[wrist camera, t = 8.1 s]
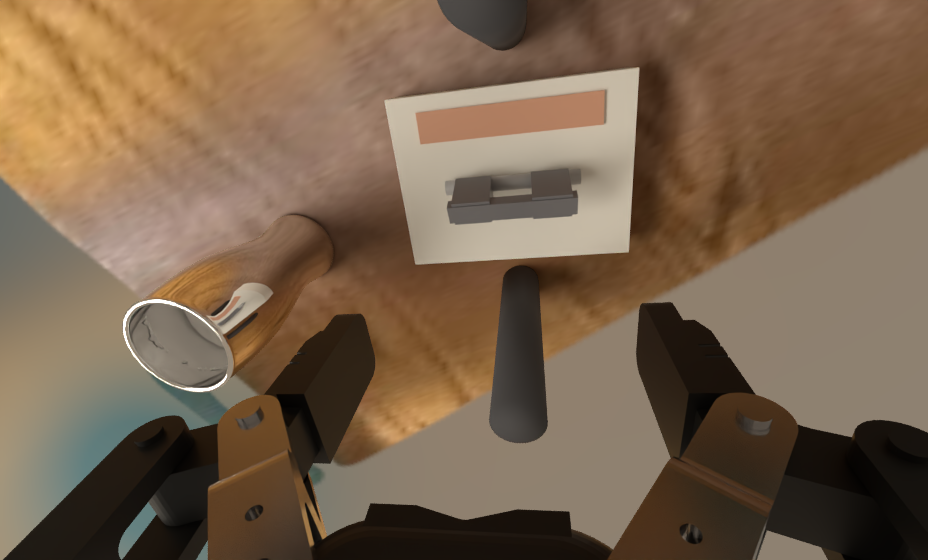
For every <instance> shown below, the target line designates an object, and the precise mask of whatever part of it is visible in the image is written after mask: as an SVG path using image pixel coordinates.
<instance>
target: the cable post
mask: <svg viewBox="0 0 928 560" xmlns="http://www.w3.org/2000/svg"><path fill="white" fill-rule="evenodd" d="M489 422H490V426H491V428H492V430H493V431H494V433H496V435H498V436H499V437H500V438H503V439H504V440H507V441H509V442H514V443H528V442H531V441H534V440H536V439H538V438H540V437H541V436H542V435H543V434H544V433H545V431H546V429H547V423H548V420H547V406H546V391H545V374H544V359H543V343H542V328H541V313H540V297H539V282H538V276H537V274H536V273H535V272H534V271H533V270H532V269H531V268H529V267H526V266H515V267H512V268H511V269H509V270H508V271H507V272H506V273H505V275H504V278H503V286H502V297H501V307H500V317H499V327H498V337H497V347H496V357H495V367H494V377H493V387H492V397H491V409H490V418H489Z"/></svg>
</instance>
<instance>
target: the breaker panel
mask: <svg viewBox="0 0 928 560" xmlns="http://www.w3.org/2000/svg"><path fill="white" fill-rule="evenodd" d="M638 82H639V67H627V68H619V69H611V70H603V71H596V72H588V73H580V74H572V75H565V76H557V77H549V78H542V79H534V80H526V81H518V82H511V83H503V84H495V85H487V86H480V87H472V88H464V89H456V90H449V91H441V92H433V93H425V94H418V95H410V96H402V97H395V98H391V99H387V100H384V101H385V107H386V112H387V117H388V122H389V128H390V133H391V138H392V144H393V149H394V154H395V159H396V165H397V170H398V175H399V181H400V186H401V191H402V196H403V202H404V207H405V212H406V218H407V223H408V228H409V233H410V239H411V244H412V249H413V255H414V260H415V265H417V264H434V263H451V262H468V261H485V260H502V259H520V258H537V257H554V256H571V255H588V254H605V253H622V252H629V239H630V221H631V204H632V187H633V169H634V152H635V134H636V117H637V100H638ZM565 168H568V169H581V184H576V185H571V186H572V191H574V190H577V194H578V214H574V215H572V216H569V217H555V218H542V219H533V218H520V219H506V220H493V221H492V222H487V223H474V224H460V225H455V223H453V224H450V221H449V217H448V212H447V204H448V201H452V196H453V195H448V196H447V195H446V191H445V181H450V180H456V179H457V178H468V177H479V176H490V175H491V177H493V176H504V175H515V174H526V173H531V172H533V171H544V170H555V169H565ZM526 194H532V188H529V189H518V190H506V191H494V192H493V195H494V197H503V196H514V195H526Z"/></svg>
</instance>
